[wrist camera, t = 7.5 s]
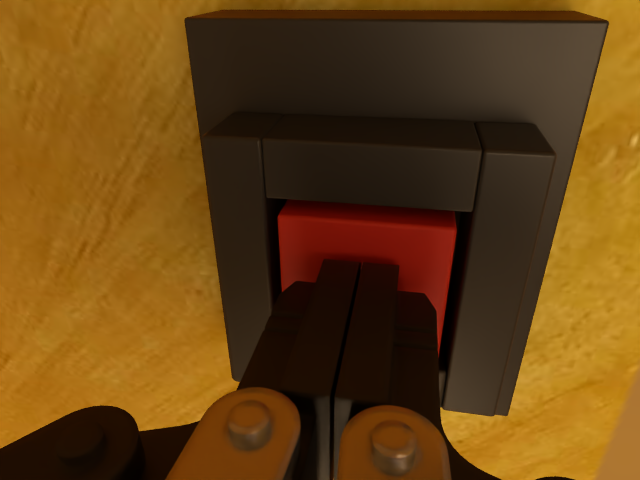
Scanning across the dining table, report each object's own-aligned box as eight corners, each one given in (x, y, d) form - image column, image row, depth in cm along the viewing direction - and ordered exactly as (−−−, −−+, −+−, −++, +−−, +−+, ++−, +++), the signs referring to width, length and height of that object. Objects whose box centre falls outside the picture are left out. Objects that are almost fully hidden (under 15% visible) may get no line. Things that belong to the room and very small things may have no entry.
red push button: (222, 9, 12) (138, 27, 8) (577, 10, 10) (652, 32, 7) (253, 332, 17) (208, 428, 13) (497, 361, 15) (518, 476, 12)
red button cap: (296, 181, 11) (276, 215, 9) (452, 190, 10) (457, 228, 9) (301, 303, 13) (283, 349, 11) (436, 318, 12) (437, 368, 10)
